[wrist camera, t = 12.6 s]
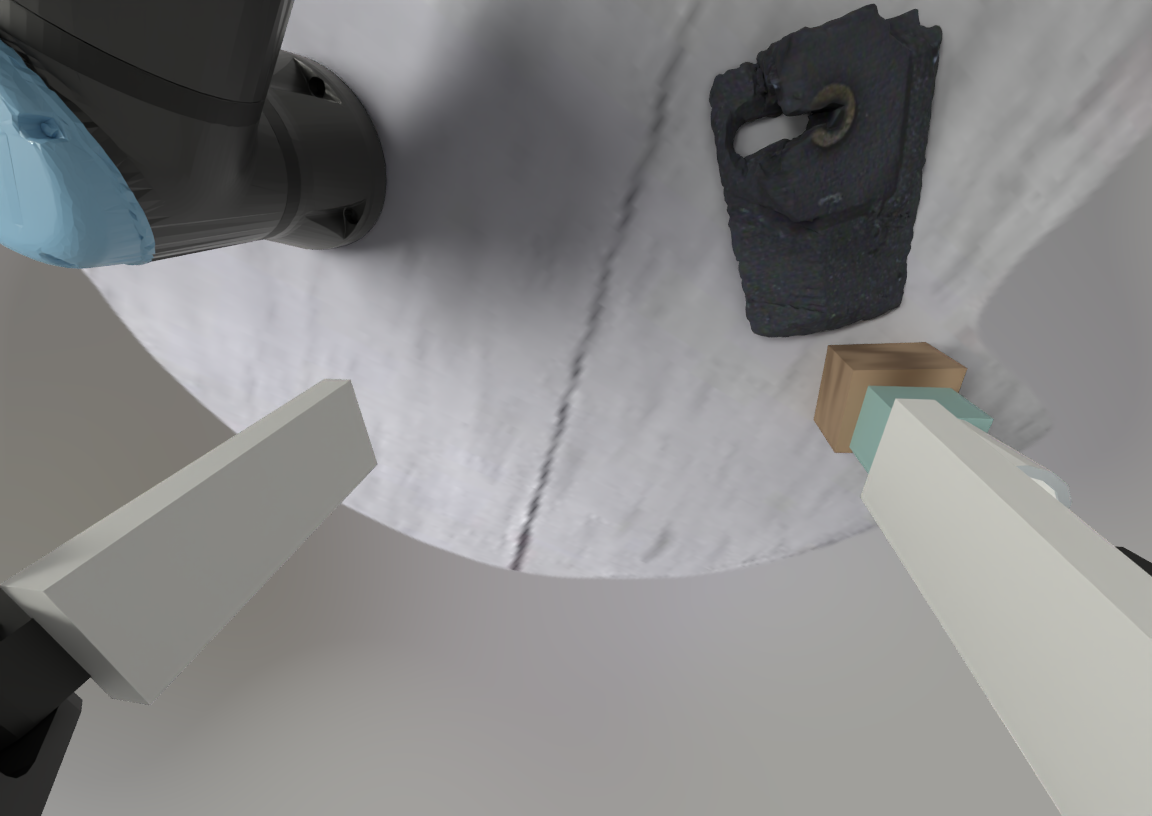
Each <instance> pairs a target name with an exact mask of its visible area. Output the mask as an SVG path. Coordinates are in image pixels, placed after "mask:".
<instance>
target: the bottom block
mask: <svg viewBox="0 0 1152 816" xmlns="http://www.w3.org/2000/svg"><path fill="white" fill-rule="evenodd" d="M966 371H967V368H966V367H964V366H963V365H961V364H960V363H958V362H956V361H955V360H953V359H952V358H950V357H948V356H947V355H945V354H944V353H942V352H940V351H939V350H937V349H936V348H934V347H933V346H931V345H929V344H928V343H926V342H919V343H885V344H851V345H828V349H827V354H826V359H825V364H824V369H823V375H822V380H821V385H820V390H819V395H818V400H817V406H816V411H815V416H814V421H815V423H816V424H817V426H818V427H819V429H820V430H821V432H822V433H823V435H824V437H825V438H826V440H827V441H828V443H829V444H830V446H831V447H832V449H833V451H834V452H835V453H853V452H852V450H851V449H850V447H849V446H850V443H851V439H852V436H853V433H854V430H855V427H856V423H857V420H858V417H859V414H860V411H861V407H862V404H863V401H864V398H865V395H866V391H867V388H868V386H899V387H935V388H952V389H953V390H954V391H956V392H957V393H959V390H960V387H961V384H962V382H963V379H964V376H965V373H966Z"/></svg>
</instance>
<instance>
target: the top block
mask: <svg viewBox="0 0 1152 816" xmlns="http://www.w3.org/2000/svg"><path fill="white" fill-rule="evenodd" d="M895 398H897V399H926V400H936V401H937V402H938V403H939V404H941V405H942V406H943V407H944V408H945V409H947V410H948V411H949V412H950V413H952V414H953V415H954V416H955V417H956V418H958V419H961V420H965V421H967V422H969V423H970V424H972V425H974V426H976V427H977V428H979V429H981V430H982V431H984V432H986V433H987V432H988V430H989V428H990V426H991V424H992V422H993V420H994V419H993V418H991V417H990V416H989V415H987V414H986V413H985V412H983V411H982V410H980V409H979V408H978V407H976V406H975V405H974V404H972V403H971V402H969V401H968V400H967V399H965V398H964V397H963V396H961V395H960V394H958V393H957V392H956V391H954V390H953V389H952V388H935V387H899V386H868V388H867V391H866V395H865V398H864V401H863V404H862V407H861V411H860V414H859V417H858V420H857V423H856V427H855V430H854V433H853V436H852V439H851V443H850V446H849V447H850V449H851V450H852V452H853V453H854V454H855V456H856V457H857V459H858V460H859V461H860V463H861V464H862V466H863V467H864V468H865V470H866V471H867V473H868V474H869V471H870V469H871V466H872V463H873V460H874V457H875V454H876V452H877V449H878V446H879V443H880V440H881V438H882V435H883V432H884V429H885V426H886V424H887V421H888V418H889V415H890V412H891V410H892V407H893V404H894V401H895Z"/></svg>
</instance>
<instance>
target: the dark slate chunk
mask: <svg viewBox="0 0 1152 816" xmlns="http://www.w3.org/2000/svg"><path fill="white" fill-rule="evenodd" d="M941 41H942V30H941V28H940V27H939V26H933V27H930V28H926V27H924V26H921V25H920V23H919V18H918V9H913V10H911V11H909V12H907V13H904V14H902V15H900V16H897V17H894V18H891V19H886V20H885V19H884V18H882V17H881V16H880V15H879V14H878V10H877V6H876V5H875V4H870V5H866V6H864V7H862V8H859V9H857V10H854V11H852V12H850V13H848V14H846V15H845V16H843V17H841V18H838V19H834V20H831V21H829V22H826V23H825V24H823V25H821V26H818V27H813V28H808V27H804V28H802V29H800V30H799V31H797V32H794V33H791V34H789V35H787V36H785V37H783V38H782V39H781V40H779V41H777V42H775V43H772V44H771V45H770V47H769V48H768V49H767V50H765V51H761V52H759V53H758V55H757V64H753V63H750V62H745V63H742V64H741V65H740V67H739V68H737V69H731V70H728V71H726V72H725V73H724V74H719V75H717V76H716V77H715V79H714V83H713V86H712V89H711V92H710V98H709V102H710V105H711V107H712V111H711V126H712V130H713V132H714V135H715V144H716V148H717V160H718V164H719V171H720V176H721V183H722V186H723V187H724V197H725V198H724V199H725V202H726V203H727V205H728V207H727V212H728V214H729V215H730V219H729V223H728V225H729V227H730V230H731V237H732V247H733V251H734V254H735V256H736V260H737V261H739V273H740V277H741V278H742V288H743V291H744V293H745V297H746V317H747V319H748V320H749V321H750V325H751V329H752V331H753V332H754V333H755V334H758V335H761V336H766V337H789V336H794V335H807V334H813V333H816V332H820V331H825V330H833V329H838V328H841V327H843V326H846V325H850V324H853V323H855V322H857V321H859V320H868V319H872V318H875V317H877V316H879V315H882V314H884V313H885V312H887V311H889V310H891V309H894V308H896V307H899V305H900V303H901V300H902V295H903V293H904V292H903V288H904V285H905V283H906V278H907V263H906V260H907V256H908V254H909V252H910V249H911V245H910V244H911V241H912V238H913V226H914V223H915V219H916V214H917V208H918V204H919V200H920V191H921V187H922V168H923V166H924V164H925V161H926V159H925V150H926V145H927V137H928V131H929V122H930V118H931V103H932V98H933V94H934V87H935V77H936V73H937V68H938V62H939V47H940V44H941ZM759 66H760V67H761V68H759ZM755 68H757V72H756V71H755ZM807 112H812V114H811V115H809V116H808V118H809V122H808V124H807V127H806V131H804V133H803V134H802V135H800V136H799V137H797V138H793V139H792V140H788V139H782V140H780V141H778V142H775V143H773V144H771V145H769V146H767V147H765V148H763V149H761V150H759V151H758V152H756V153H754V154H752V155H749V156H747V157H745V158H743V157H742V156H740V155H739V154H737V153H736V152H735V151H734V149H733V139H734V137H735V134H736V132H737V130H738V129H739V128H740V127H741V126H742V125H743V124H744V123H746V122H752V121H754V120H755V119H759V118H762V117H772V118H774V117H777V116H779V115H781V114H782V113H783V114H784V115H786V116H797V115H802V114H805V113H807Z"/></svg>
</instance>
